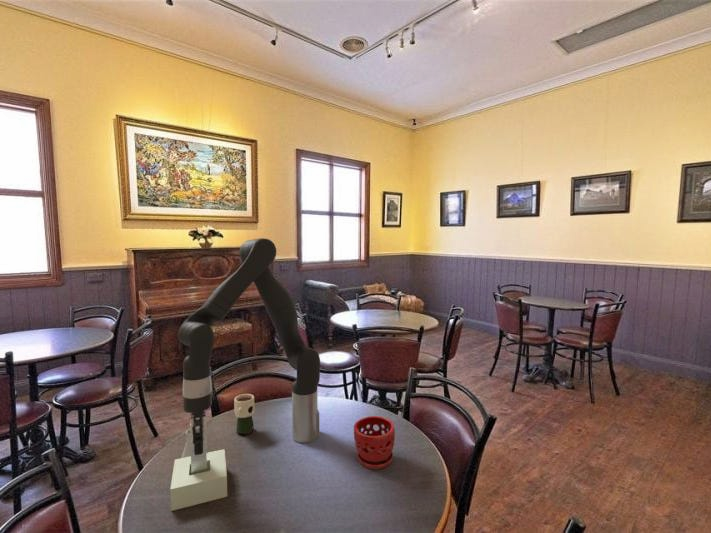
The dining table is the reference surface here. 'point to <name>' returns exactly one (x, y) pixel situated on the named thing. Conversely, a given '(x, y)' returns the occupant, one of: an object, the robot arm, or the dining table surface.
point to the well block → (198, 481)
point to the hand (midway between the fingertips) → (199, 449)
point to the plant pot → (374, 442)
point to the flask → (187, 445)
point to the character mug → (244, 413)
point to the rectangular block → (198, 460)
